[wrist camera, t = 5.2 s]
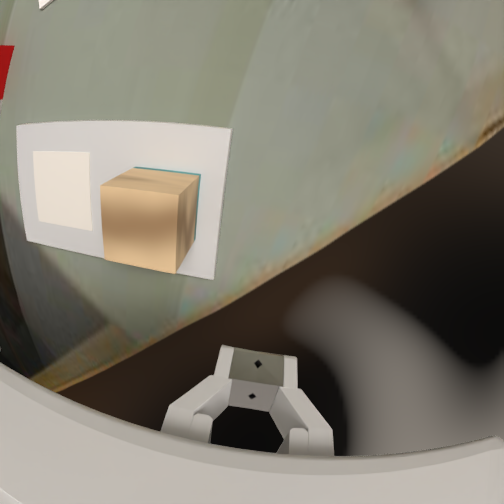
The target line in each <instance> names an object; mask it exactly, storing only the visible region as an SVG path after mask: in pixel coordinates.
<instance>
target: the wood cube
mask: <svg viewBox="0 0 504 504" xmlns="http://www.w3.org/2000/svg"><path fill="white" fill-rule="evenodd" d="M200 180H201V174H197V173H189V172H181V171H173V170H164V169H155V168H145V167H134V168H132V169H130V170H128V171H126V172H124V173H122V174H120V175H118V176H116V177H114V178H113V179H111V180H109V181H107V182H105V183H103V184H102V185H100V200H101V220H102V235H103V247H104V257H105V260H109V261H114V262H119V263H123V264H128V265H133V266H138V267H143V268H147V269H152V270H157V271H162V272H167V273H173V274H176V272H177V270H178V269H179V267H180V265H181V263H182V262H183V260H184V258H185V256H186V255H187V253H188V251H189V249H190V248H191V246H192V244H193V242H194V241H195V239H196V225H197V213H198V201H199V190H200Z"/></svg>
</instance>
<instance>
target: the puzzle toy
mask: <svg viewBox="0 0 504 504" xmlns="http://www.w3.org/2000/svg"><path fill="white" fill-rule="evenodd" d="M13 50H14V46H5V45H0V114H1V107H2V100H3V94H4V89H5V84H6V79H7V74H8V69H9V65H10V61H11V57H12V53H13Z"/></svg>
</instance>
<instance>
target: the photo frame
mask: <svg viewBox="0 0 504 504" xmlns="http://www.w3.org/2000/svg"><path fill="white" fill-rule="evenodd" d="M53 1H54V0H39V7H40V9H44V8H45V7H46V6H47V5H49V4H50V3H51V2H53Z"/></svg>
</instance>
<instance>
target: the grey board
mask: <svg viewBox="0 0 504 504" xmlns="http://www.w3.org/2000/svg"><path fill="white" fill-rule="evenodd" d="M232 133H233V128H225V127H216V126H207V125H198V124H187V123H174V122H159V121H137V120H73V121H53V122H38V123H27V124H20V125H17V161H18V177H19V188H20V197H21V205H22V213H23V219H24V226H25V232H26V237H27V241H31V242H35V243H40V244H44V245H48V246H52V247H56V248H61V249H65V250H69V251H74V252H78V253H83V254H87V255H92V256H96V257H101V258H105V257H104V247H103V235H102V220H101V200H100V185H102V184H103V183H105V182H107V181H109V180H111V179H113V178H114V177H116V176H118V175H120V174H122V173H124V172H126V171H128V170H130V169H132V168H134V167H145V168H155V169H164V170H173V171H181V172H189V173H197V174H201V180H200V190H199V201H198V213H197V225H196V239H195V241H194V242H193V244H192V246H191V248H190V249H189V251H188V253H187V255H186V256H185V258H184V260H183V262H182V263H181V265H180V267H179V269H178V270H177V272H176V273H179V274H184V275H189V276H194V277H200V278H205V279H211V280H214V277H215V273H216V263H217V254H218V245H219V236H220V227H221V218H222V210H223V201H224V193H225V185H226V177H227V170H228V162H229V155H230V147H231V140H232Z"/></svg>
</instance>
